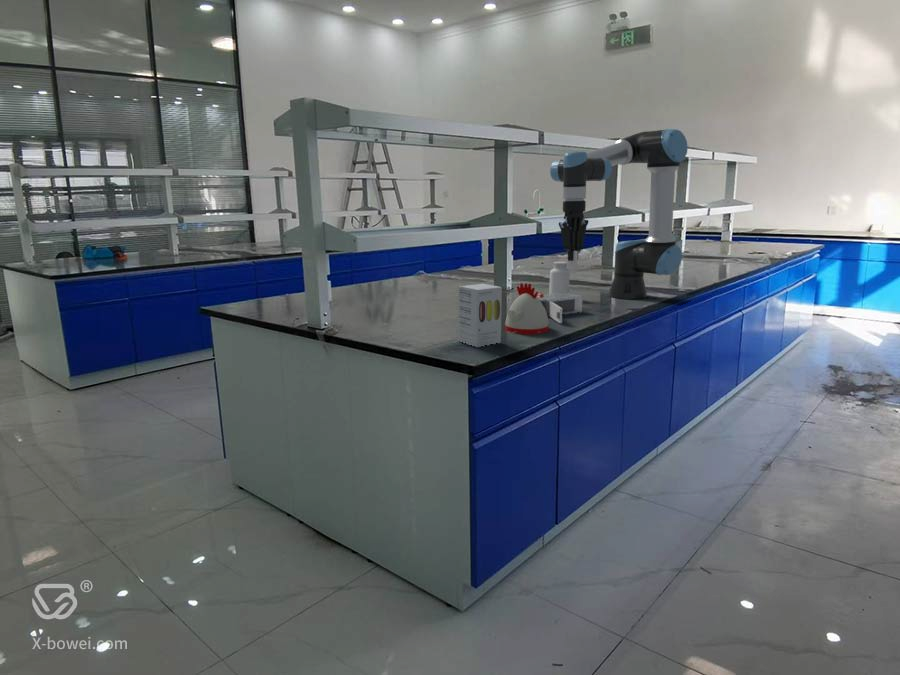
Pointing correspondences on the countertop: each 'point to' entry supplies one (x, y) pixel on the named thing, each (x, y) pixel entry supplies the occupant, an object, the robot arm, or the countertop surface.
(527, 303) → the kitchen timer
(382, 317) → the countertop surface
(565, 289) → the pill bottle
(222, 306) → the countertop surface
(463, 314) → the supplement box
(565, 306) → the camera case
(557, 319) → the thin white box
